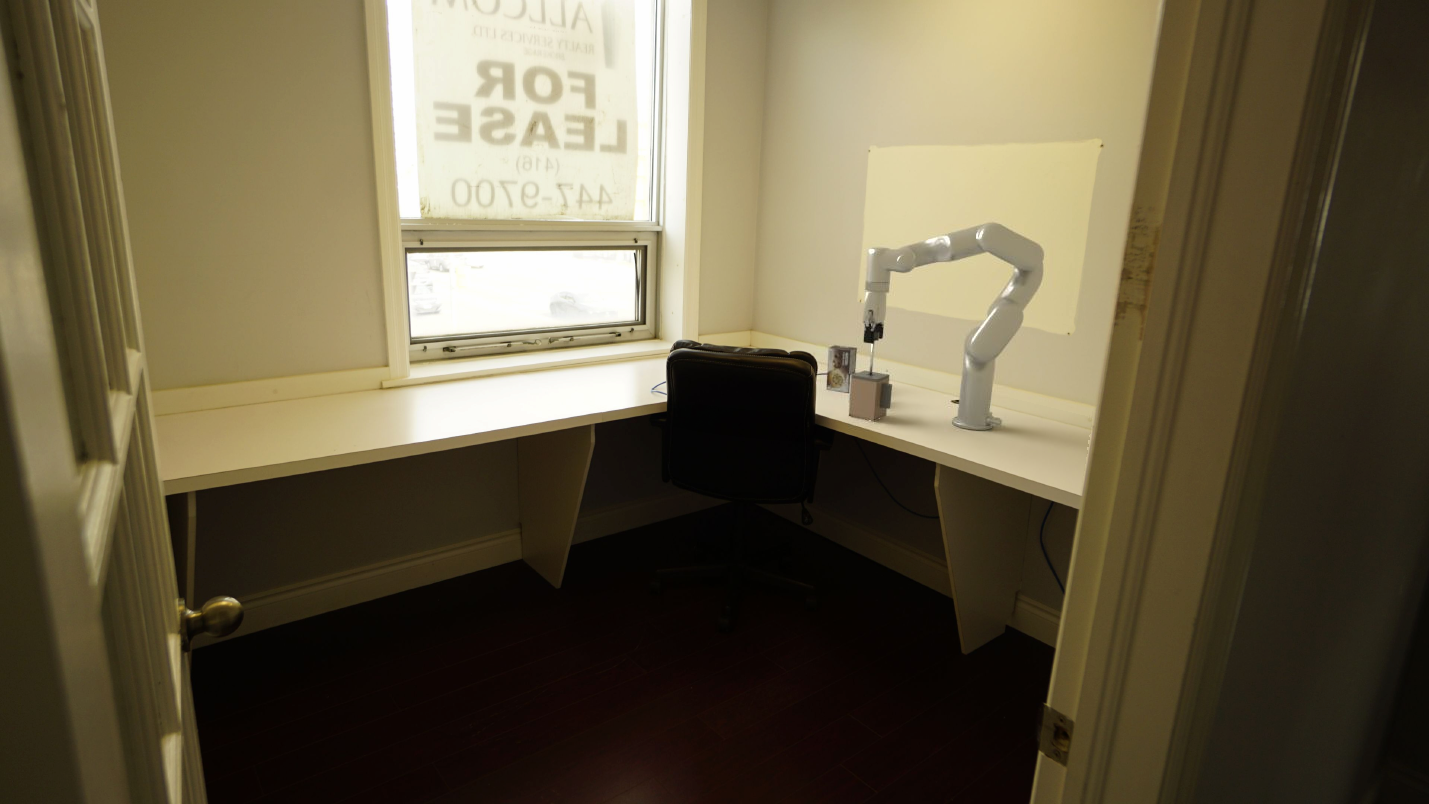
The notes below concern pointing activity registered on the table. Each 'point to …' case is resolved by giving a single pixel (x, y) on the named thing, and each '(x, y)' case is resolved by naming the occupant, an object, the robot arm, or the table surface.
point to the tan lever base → (869, 395)
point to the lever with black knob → (876, 338)
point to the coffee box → (840, 367)
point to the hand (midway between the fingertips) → (873, 340)
